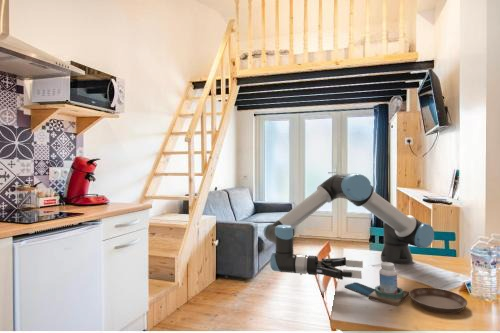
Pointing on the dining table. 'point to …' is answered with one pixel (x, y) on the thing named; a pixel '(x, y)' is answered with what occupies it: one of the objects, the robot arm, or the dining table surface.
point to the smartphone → (360, 288)
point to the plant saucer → (438, 300)
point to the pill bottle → (388, 278)
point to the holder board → (389, 301)
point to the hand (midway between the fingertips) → (362, 269)
